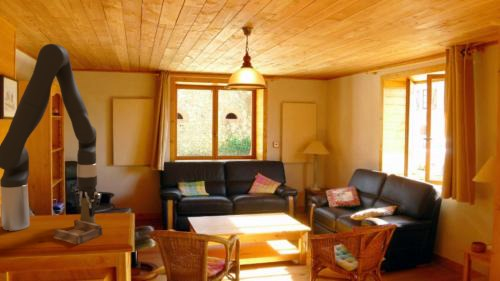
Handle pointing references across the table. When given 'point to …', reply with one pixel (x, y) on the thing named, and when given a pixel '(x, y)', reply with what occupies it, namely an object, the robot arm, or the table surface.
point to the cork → (86, 211)
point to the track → (79, 232)
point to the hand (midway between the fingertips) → (87, 215)
